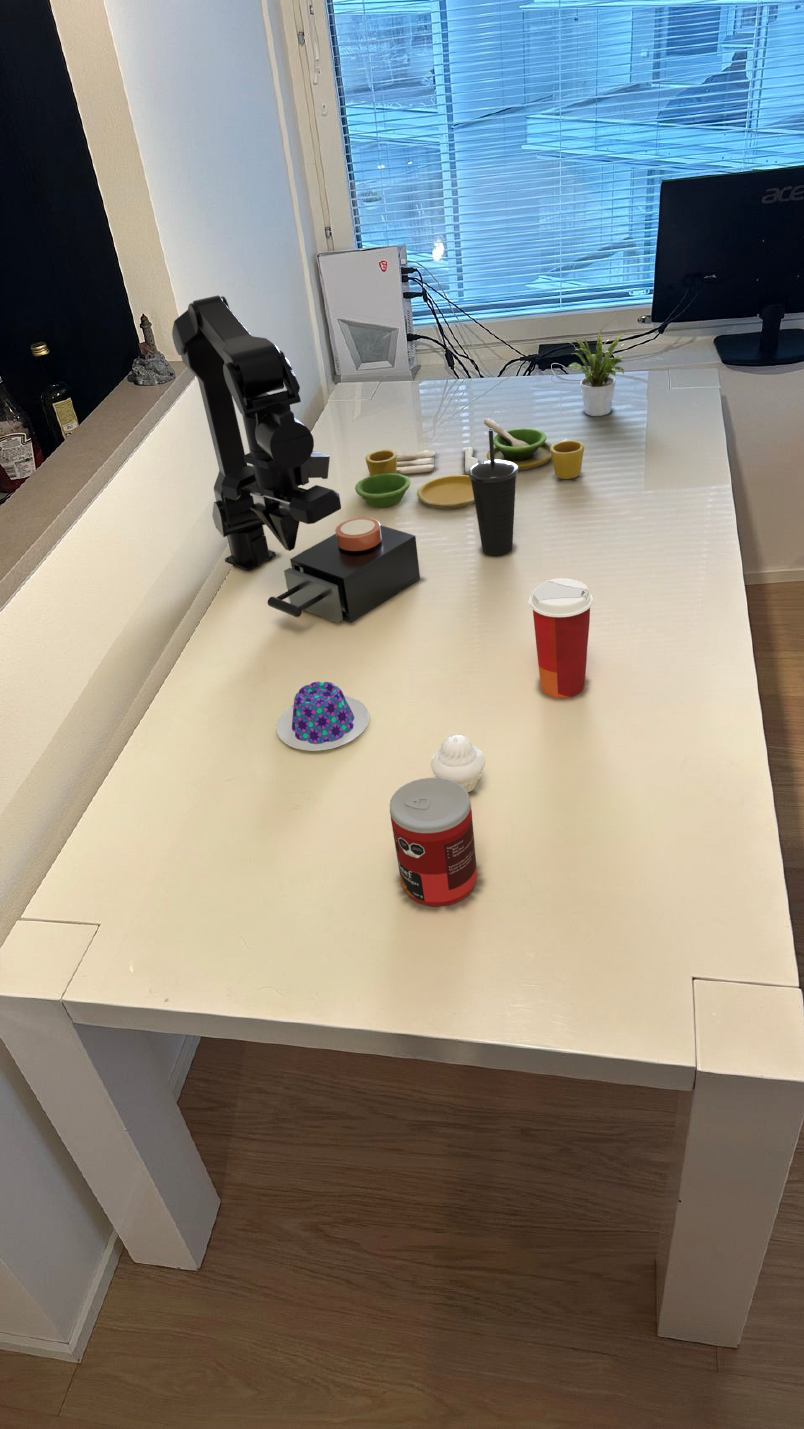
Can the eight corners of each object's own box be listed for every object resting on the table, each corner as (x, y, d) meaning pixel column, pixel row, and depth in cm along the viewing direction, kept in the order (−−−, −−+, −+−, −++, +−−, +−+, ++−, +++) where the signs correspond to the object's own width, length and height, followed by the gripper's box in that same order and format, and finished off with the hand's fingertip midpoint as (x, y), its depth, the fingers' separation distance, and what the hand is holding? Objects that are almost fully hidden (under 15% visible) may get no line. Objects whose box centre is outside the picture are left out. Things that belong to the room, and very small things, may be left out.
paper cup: (597, 672, 132) (598, 578, 124) (586, 706, 127) (586, 609, 119) (539, 666, 135) (536, 574, 127) (525, 699, 129) (521, 604, 121)
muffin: (434, 770, 120) (428, 723, 116) (486, 767, 119) (482, 720, 115) (433, 805, 115) (427, 757, 111) (487, 802, 114) (483, 753, 110)
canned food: (398, 860, 108) (386, 782, 102) (472, 850, 108) (464, 771, 102) (404, 913, 102) (391, 833, 95) (482, 903, 102) (475, 822, 95)
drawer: (309, 640, 145) (302, 605, 142) (262, 620, 151) (254, 586, 148) (403, 581, 156) (399, 548, 153) (356, 565, 163) (351, 532, 159)
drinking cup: (518, 560, 160) (513, 438, 148) (470, 560, 162) (461, 440, 150) (523, 538, 166) (518, 419, 154) (477, 538, 167) (469, 421, 156)
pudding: (348, 761, 123) (342, 727, 120) (261, 748, 127) (253, 714, 124) (384, 704, 132) (379, 671, 129) (301, 694, 136) (294, 661, 133)
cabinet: (350, 623, 150) (343, 578, 145) (298, 602, 157) (289, 558, 152) (420, 579, 158) (415, 535, 154) (367, 561, 165) (361, 519, 161)
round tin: (328, 547, 154) (325, 530, 152) (359, 529, 158) (357, 513, 156) (360, 557, 150) (357, 541, 148) (391, 539, 154) (389, 523, 152)
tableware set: (577, 441, 197) (577, 409, 193) (589, 502, 174) (589, 467, 171) (368, 458, 201) (364, 427, 198) (354, 519, 179) (349, 485, 175)
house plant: (554, 426, 204) (553, 344, 195) (558, 402, 215) (556, 323, 206) (627, 423, 201) (629, 340, 192) (626, 399, 212) (628, 319, 203)
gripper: (361, 435, 133) (376, 542, 143) (269, 413, 145) (288, 513, 154) (300, 465, 127) (319, 574, 136) (208, 439, 138) (232, 542, 147)
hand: (290, 549), depth 144 cm, fingers closed
